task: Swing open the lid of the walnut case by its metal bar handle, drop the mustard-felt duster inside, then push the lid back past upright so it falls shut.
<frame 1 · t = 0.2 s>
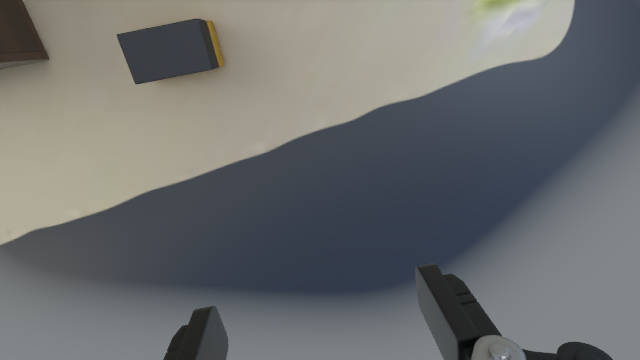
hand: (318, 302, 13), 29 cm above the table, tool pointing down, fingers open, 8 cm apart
duster: (182, 51, 36), on the table
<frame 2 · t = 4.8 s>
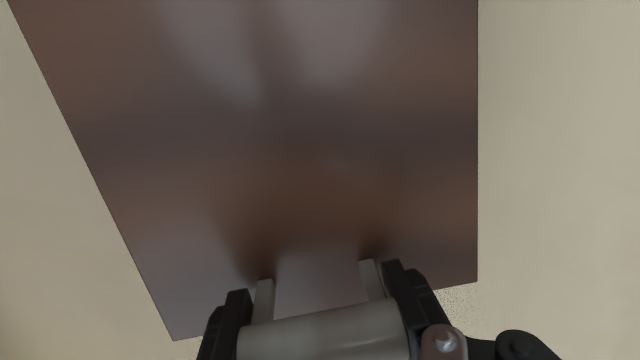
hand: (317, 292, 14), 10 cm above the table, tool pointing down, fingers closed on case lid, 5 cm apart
case lid: (282, 150, 11), point 10 cm above the table, hinge at -0.1°, touching gripper
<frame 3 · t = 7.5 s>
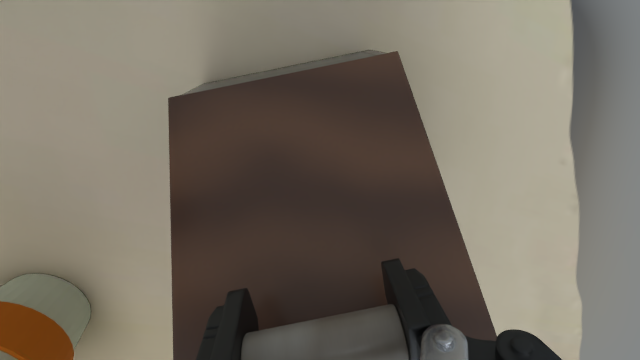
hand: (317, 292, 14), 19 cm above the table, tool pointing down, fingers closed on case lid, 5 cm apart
reusable coffee cup: (48, 305, 37), on the table
case lid: (301, 193, 16), point 16 cm above the table, hinge at 45.2°, touching gripper
case: (305, 156, 32), on the table
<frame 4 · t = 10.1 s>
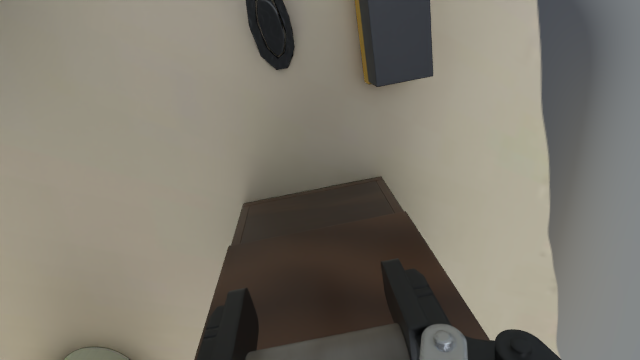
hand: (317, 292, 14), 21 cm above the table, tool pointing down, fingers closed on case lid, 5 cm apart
case lid: (321, 281, 18), point 17 cm above the table, hinge at 90.0°, touching gripper
duster: (384, 30, 29), on the table
case: (325, 254, 38), on the table
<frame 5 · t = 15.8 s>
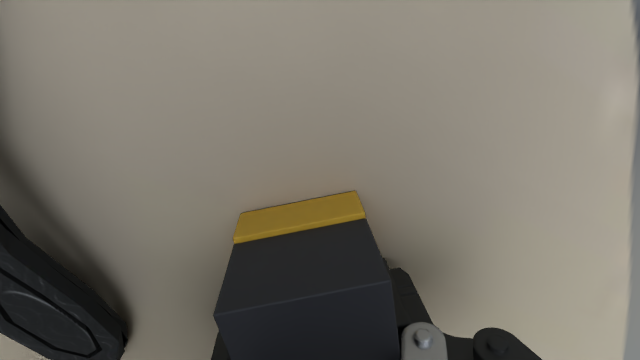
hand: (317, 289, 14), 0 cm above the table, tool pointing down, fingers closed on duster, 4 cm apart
duster: (317, 284, 14), on the table, touching gripper
when the fingers open (1 cm above the table, at t = 26.3 s): duster stays where it is, resting on case.
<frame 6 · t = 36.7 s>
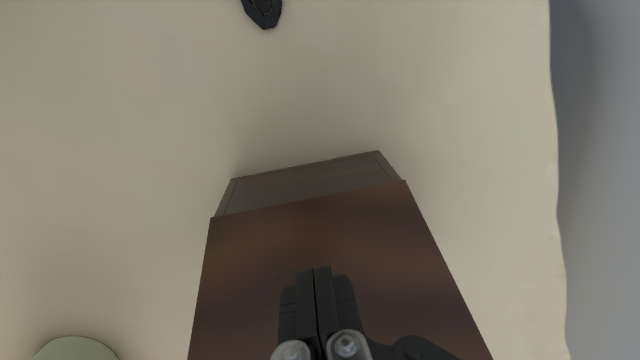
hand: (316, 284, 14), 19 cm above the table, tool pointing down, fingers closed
case lid: (318, 289, 17), point 17 cm above the table, hinge at 71.7°
case: (319, 236, 36), on the table
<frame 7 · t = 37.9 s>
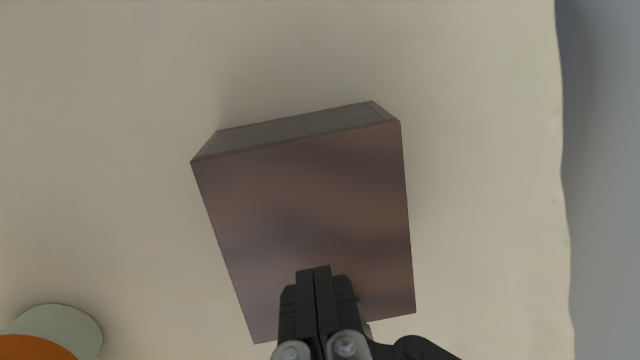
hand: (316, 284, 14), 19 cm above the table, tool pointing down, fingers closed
reusable coffee cup: (61, 333, 38), on the table
case lid: (319, 262, 24), point 10 cm above the table, hinge at -0.1°
case: (311, 196, 34), on the table
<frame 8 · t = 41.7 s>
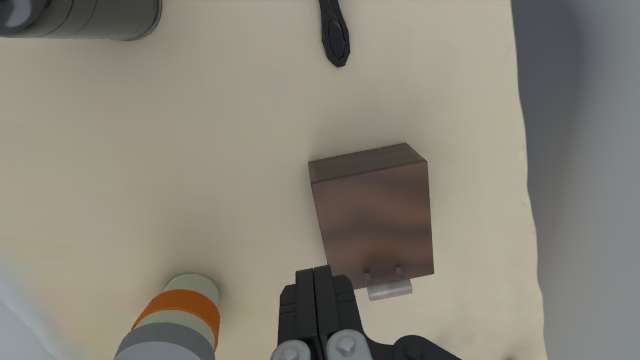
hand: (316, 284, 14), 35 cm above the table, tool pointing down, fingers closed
reusable coffee cup: (193, 294, 57), on the table
case lid: (380, 240, 43), point 10 cm above the table, hinge at -0.1°
case: (364, 201, 52), on the table
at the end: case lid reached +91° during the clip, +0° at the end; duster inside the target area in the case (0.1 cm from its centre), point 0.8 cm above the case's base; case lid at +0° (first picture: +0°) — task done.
